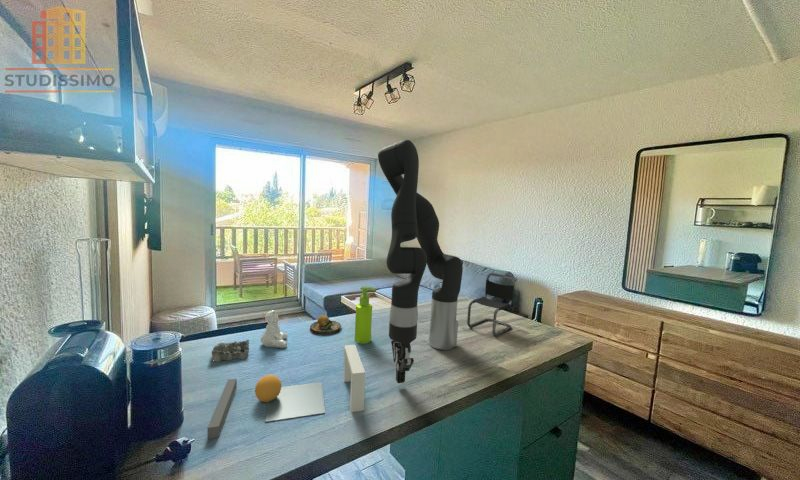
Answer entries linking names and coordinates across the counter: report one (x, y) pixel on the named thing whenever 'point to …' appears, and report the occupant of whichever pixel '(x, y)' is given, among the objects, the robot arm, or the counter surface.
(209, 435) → the wall
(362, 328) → the soap dispenser
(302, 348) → the counter surface
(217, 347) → the egg carton
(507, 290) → the chair
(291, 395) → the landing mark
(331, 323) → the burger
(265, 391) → the ball
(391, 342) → the robot arm
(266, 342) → the seated beast figurine
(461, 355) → the counter surface
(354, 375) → the bridge
